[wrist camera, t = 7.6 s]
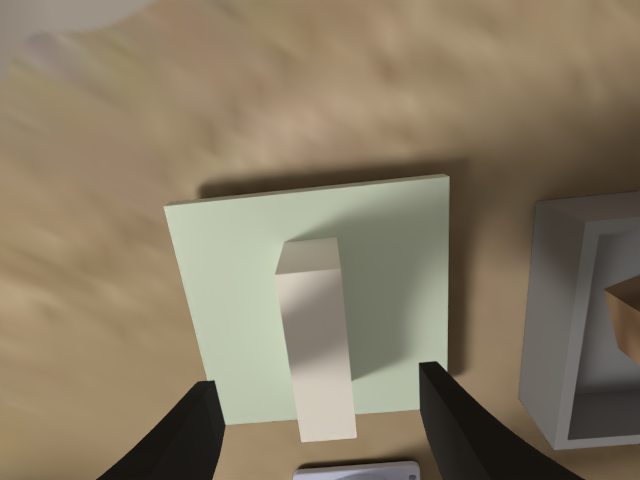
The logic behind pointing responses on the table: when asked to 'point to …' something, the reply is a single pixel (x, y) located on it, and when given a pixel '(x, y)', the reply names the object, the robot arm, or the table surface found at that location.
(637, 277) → the walnut block
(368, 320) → the lid
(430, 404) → the robot arm
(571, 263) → the storage box
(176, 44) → the table surface
